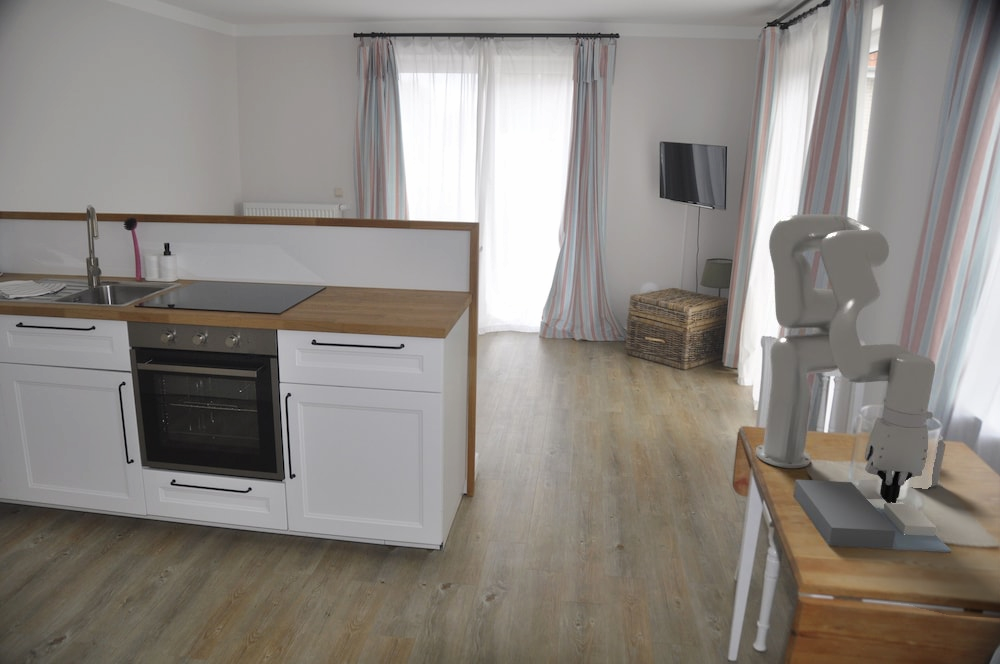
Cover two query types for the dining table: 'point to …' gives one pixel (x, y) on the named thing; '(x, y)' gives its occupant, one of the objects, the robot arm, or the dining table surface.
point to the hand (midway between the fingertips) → (888, 499)
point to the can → (938, 461)
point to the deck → (843, 515)
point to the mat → (915, 540)
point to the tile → (909, 519)
